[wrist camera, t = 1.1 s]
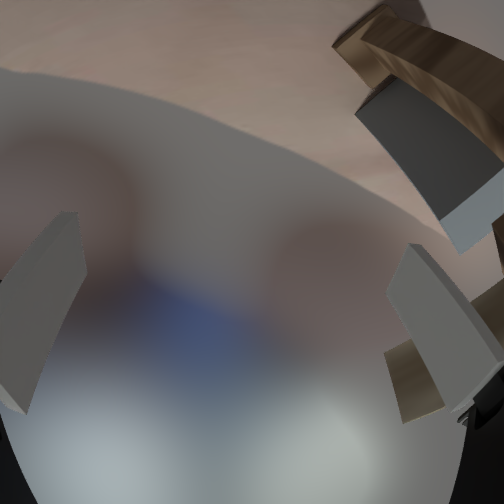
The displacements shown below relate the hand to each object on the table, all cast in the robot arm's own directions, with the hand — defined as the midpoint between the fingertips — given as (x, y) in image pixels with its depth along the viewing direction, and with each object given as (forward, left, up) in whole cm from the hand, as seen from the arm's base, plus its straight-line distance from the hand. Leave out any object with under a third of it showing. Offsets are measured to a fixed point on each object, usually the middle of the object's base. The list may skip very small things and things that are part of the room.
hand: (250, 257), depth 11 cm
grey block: (+13, +19, -27) cm, 35 cm away
